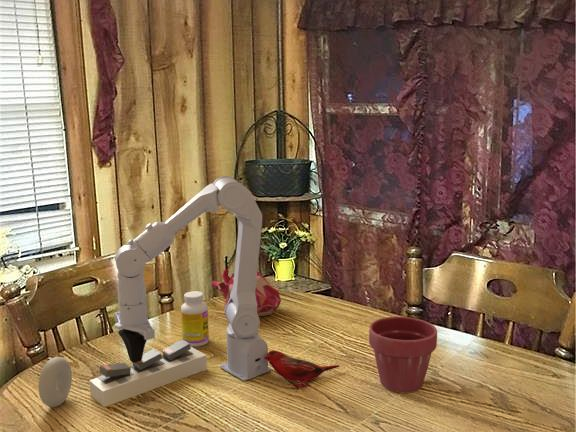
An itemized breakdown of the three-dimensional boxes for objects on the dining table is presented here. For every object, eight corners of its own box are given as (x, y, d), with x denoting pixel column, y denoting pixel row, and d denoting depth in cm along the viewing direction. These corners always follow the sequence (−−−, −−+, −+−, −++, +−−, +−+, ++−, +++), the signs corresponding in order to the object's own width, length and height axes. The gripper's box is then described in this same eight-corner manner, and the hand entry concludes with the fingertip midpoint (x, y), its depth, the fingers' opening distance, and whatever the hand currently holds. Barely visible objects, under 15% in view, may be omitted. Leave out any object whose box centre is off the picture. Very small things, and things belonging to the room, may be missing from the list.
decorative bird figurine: (267, 390, 132) (260, 355, 140) (345, 391, 136) (334, 357, 145) (270, 381, 130) (263, 346, 138) (348, 382, 135) (337, 348, 143)
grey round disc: (61, 391, 133) (57, 348, 131) (76, 392, 133) (72, 349, 130) (37, 416, 123) (32, 369, 121) (54, 417, 123) (49, 370, 121)
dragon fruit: (274, 299, 186) (211, 278, 182) (289, 272, 178) (223, 250, 174) (269, 335, 175) (202, 314, 171) (285, 308, 167) (215, 285, 164)
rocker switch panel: (206, 369, 142) (206, 353, 141) (104, 407, 126) (102, 389, 125) (191, 360, 147) (190, 344, 146) (90, 395, 131) (89, 378, 130)
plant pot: (412, 364, 144) (413, 311, 141) (448, 391, 131) (451, 334, 128) (357, 375, 138) (357, 321, 136) (389, 404, 126) (390, 345, 123)
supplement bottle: (206, 347, 154) (204, 298, 151) (180, 347, 154) (177, 298, 151) (210, 337, 161) (208, 289, 158) (185, 337, 161) (182, 289, 158)
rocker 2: (162, 358, 137) (160, 352, 137) (140, 370, 134) (138, 364, 134) (154, 354, 140) (153, 348, 139) (133, 365, 136) (131, 359, 136)
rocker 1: (130, 374, 133) (130, 367, 132) (105, 377, 129) (106, 370, 129) (123, 369, 135) (124, 362, 135) (99, 372, 131) (100, 365, 131)
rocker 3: (190, 348, 142) (189, 343, 142) (170, 360, 139) (169, 354, 138) (183, 344, 144) (182, 338, 144) (163, 355, 141) (161, 350, 141)
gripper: (99, 297, 135) (104, 355, 138) (131, 315, 124) (135, 377, 127) (129, 290, 139) (133, 346, 142) (162, 306, 129) (165, 367, 132)
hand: (136, 360), depth 135 cm, fingers closed, pressing on rocker 2
